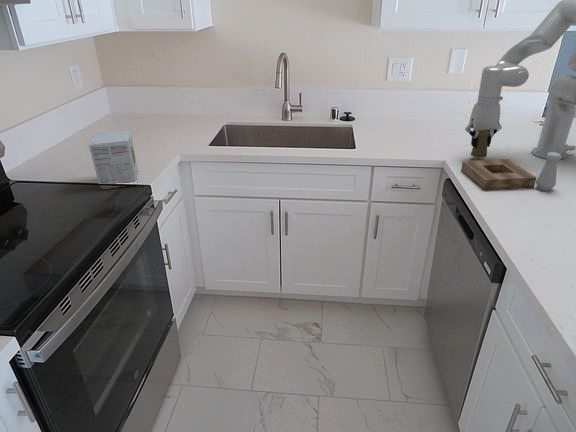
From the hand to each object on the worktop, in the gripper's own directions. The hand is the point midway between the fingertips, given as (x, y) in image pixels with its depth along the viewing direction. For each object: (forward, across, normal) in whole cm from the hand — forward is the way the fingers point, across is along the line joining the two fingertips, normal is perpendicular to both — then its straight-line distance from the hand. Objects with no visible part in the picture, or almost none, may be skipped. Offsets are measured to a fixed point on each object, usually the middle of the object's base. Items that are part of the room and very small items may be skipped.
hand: (480, 145), depth 167 cm
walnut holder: (+6, +3, +20) cm, 21 cm away
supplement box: (+2, +142, +6) cm, 142 cm away
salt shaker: (+6, -9, +30) cm, 32 cm away
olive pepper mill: (+4, 0, 0) cm, 4 cm away
